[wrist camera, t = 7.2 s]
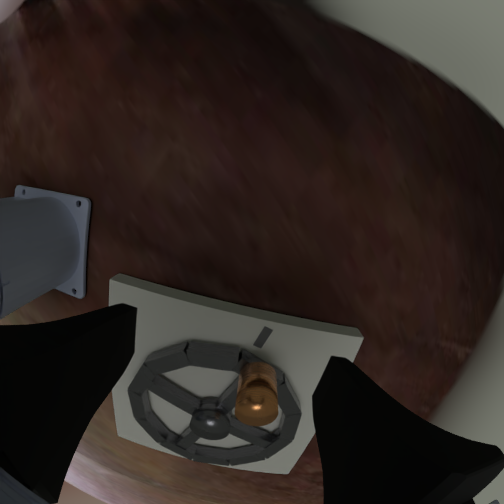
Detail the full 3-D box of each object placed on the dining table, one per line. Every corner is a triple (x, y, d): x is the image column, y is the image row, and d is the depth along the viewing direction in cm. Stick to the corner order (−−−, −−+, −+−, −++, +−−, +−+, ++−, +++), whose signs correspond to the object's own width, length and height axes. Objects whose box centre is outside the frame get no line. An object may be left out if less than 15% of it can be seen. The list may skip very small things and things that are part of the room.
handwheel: (237, 469, 21) (233, 505, 16) (115, 407, 20) (95, 441, 15) (337, 392, 18) (352, 436, 14) (183, 300, 17) (159, 336, 12)
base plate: (122, 426, 23) (117, 436, 21) (119, 272, 19) (109, 279, 17) (286, 463, 23) (287, 474, 21) (357, 328, 19) (364, 338, 17)
